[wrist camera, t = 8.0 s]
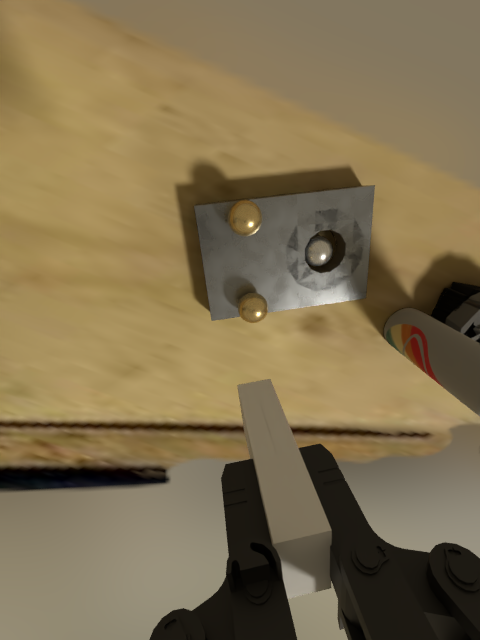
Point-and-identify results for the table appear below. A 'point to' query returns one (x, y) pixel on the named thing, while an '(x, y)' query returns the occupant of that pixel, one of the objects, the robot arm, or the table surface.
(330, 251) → the steel ball
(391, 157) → the table surface
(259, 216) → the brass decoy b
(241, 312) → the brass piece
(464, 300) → the cpu cooler
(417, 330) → the lotion bottle
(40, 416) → the table surface
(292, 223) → the bearing plate
